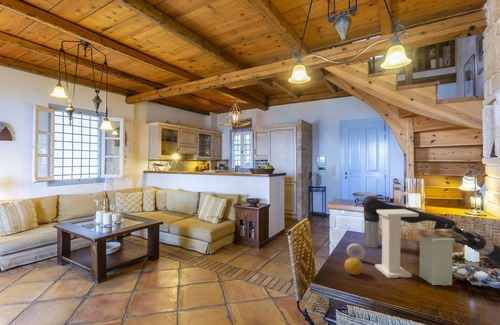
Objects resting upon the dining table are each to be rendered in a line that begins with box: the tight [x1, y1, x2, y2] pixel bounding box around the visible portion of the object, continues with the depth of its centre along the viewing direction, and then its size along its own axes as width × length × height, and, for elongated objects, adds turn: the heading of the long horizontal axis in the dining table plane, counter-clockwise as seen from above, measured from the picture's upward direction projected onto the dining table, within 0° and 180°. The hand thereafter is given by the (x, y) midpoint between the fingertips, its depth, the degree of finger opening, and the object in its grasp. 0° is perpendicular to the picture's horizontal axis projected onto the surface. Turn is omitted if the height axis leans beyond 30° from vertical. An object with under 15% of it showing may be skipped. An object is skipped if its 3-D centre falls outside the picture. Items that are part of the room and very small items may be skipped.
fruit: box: [344, 257, 364, 276], centre depth 127 cm, size 9×8×8 cm
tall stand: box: [374, 209, 419, 279], centre depth 128 cm, size 16×12×32 cm
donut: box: [346, 242, 366, 261], centre depth 143 cm, size 10×4×10 cm, turn 62°
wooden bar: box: [410, 228, 461, 238], centre depth 119 cm, size 24×2×3 cm, turn 93°
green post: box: [419, 237, 455, 286], centre depth 119 cm, size 10×10×22 cm
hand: (449, 226), depth 119 cm, fingers open, 3 cm apart
